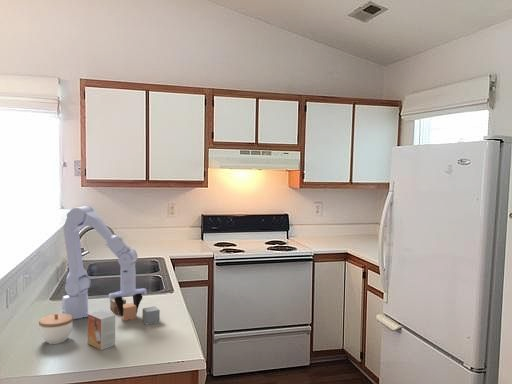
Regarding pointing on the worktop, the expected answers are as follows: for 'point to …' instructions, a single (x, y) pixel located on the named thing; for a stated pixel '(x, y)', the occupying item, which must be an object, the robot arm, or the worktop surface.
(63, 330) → the lidded jar
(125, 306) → the terracotta cube
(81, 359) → the worktop surface
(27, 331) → the worktop surface
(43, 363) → the worktop surface
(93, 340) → the small box
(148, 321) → the slate cube
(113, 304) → the walnut cube
